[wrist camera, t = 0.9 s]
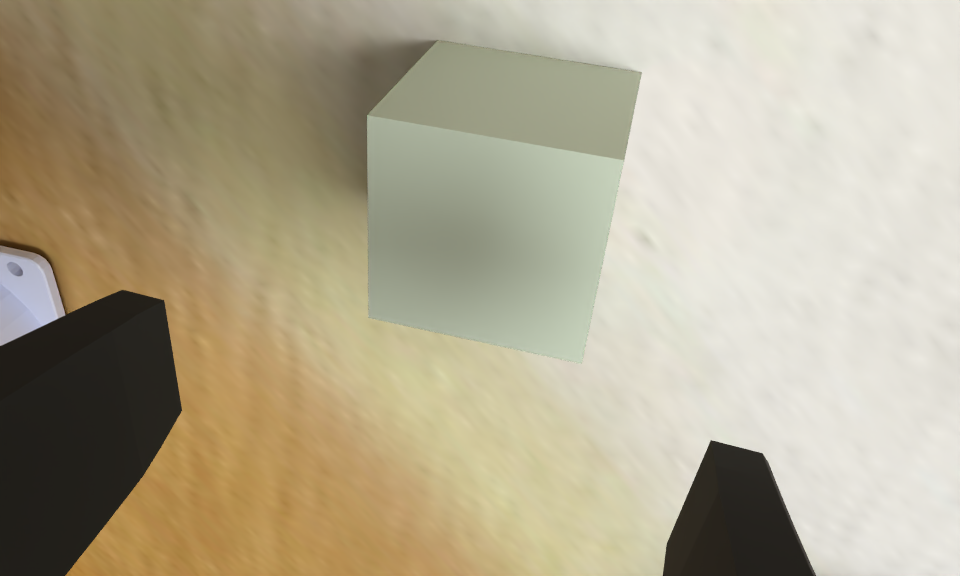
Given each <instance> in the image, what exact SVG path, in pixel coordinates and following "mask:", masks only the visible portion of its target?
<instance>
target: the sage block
mask: <svg viewBox="0 0 960 576" xmlns="http://www.w3.org/2000/svg"><path fill="white" fill-rule="evenodd" d="M641 74H642V72H636V71H629V70H623V69H617V68H610V67H604V66H598V65H591V64H585V63H579V62H572V61H566V60H560V59H553V58H547V57H541V56H534V55H528V54H522V53H515V52H509V51H503V50H496V49H490V48H484V47H477V46H471V45H465V44H458V43H452V42H446V41H439V40H437V41H436V43H435V44H434V45H433V46H432V47H431V48H430V49H429V50H428V51H427V52H426V53H425V54H424V55H423V56H422V57H421V58H420V60H419V61H418V62H417V63H416V64H415V65H414V66H413V67H412V68H411V69H410V70H409V71H408V72H407V73H406V74H405V75H404V76H403V78H402V79H401V80H400V81H399V82H398V83H397V84H396V85H395V86H394V87H393V88H392V89H391V90H390V91H389V92H388V93H387V95H386V96H385V97H384V98H383V99H382V100H381V101H380V102H379V103H378V104H377V105H376V106H375V107H374V108H373V109H372V110H371V111H370V113H369V114H368V115H367V177H368V304H369V318H371V319H376V320H381V321H385V322H390V323H394V324H399V325H404V326H408V327H413V328H418V329H422V330H427V331H431V332H436V333H441V334H445V335H450V336H454V337H459V338H464V339H468V340H473V341H478V342H482V343H487V344H491V345H496V346H501V347H505V348H510V349H514V350H519V351H524V352H528V353H533V354H538V355H542V356H547V357H551V358H556V359H561V360H565V361H570V362H575V363H579V364H582V361H583V356H584V351H585V346H586V341H587V336H588V332H589V327H590V322H591V317H592V312H593V308H594V303H595V298H596V293H597V288H598V283H599V279H600V274H601V269H602V264H603V259H604V255H605V250H606V245H607V240H608V235H609V230H610V226H611V221H612V216H613V211H614V206H615V202H616V197H617V192H618V187H619V182H620V177H621V173H622V168H623V163H624V158H625V153H626V148H627V143H628V138H629V133H630V128H631V123H632V118H633V113H634V108H635V103H636V98H637V94H638V89H639V84H640V79H641Z"/></svg>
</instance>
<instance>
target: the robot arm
mask: <svg viewBox="0 0 960 576" xmlns="http://www.w3.org/2000/svg"><path fill="white" fill-rule="evenodd" d="M181 411H182V408H181V402H180V395H179V389H178V383H177V377H176V371H175V365H174V358H173V352H172V346H171V340H170V334H169V328H168V321H167V315H166V309H165V303H164V300H160V299H157V298H153V297H149V296H145V295H141V294H137V293H133V292H129V291H125V290H121V291H119V292H116V293H114V294H111V295H109V296H107V297H104V298H102V299H100V300H97V301H95V302H93V303H91V304H88V305H86V306H84V307H82V308H80V309H78V310H75V311H73V312H71V313H69V314H67V315H65V312H64V308H63V305H62V302H61V298H60V295H59V291H58V288H57V285H56V281H55V278H54V275H53V271H52V268H51V266H50V264H49V263H48V261H47V260H46V259H45V258H43V257H42V256H40V255H38V254H36V253H32V252H28V251H23V250H19V249H14V248H9V247H5V246H0V576H65V575H66V574H67V573H68V571H69V570H70V569H71V568H72V566H73V565H74V564H75V563H76V561H77V560H78V559H79V557H80V556H81V555H82V554H83V552H84V551H85V550H86V549H87V547H88V546H89V545H90V544H91V542H92V541H93V540H94V539H95V537H96V536H97V535H98V533H99V532H100V531H101V530H102V528H103V527H104V526H105V525H106V523H107V522H108V521H109V519H110V518H111V517H112V516H113V514H114V513H115V512H116V510H117V509H118V508H119V507H120V505H121V504H122V503H123V501H124V500H125V499H126V498H127V496H128V495H129V494H130V492H131V491H132V490H133V488H134V487H135V486H136V485H137V483H138V482H139V481H140V479H141V478H142V477H143V475H144V474H145V472H146V470H147V469H148V467H149V466H150V464H151V462H152V461H153V459H154V458H155V456H156V454H157V453H158V451H159V449H160V448H161V446H162V444H163V443H164V441H165V439H166V437H167V436H168V434H169V432H170V430H171V429H172V427H173V425H174V423H175V422H176V420H177V418H178V416H179V415H180V413H181ZM663 576H816V575H815V572H814V570H813V568H812V566H811V564H810V561H809V559H808V557H807V555H806V552H805V550H804V548H803V545H802V543H801V541H800V539H799V536H798V534H797V532H796V530H795V527H794V525H793V522H792V520H791V518H790V515H789V513H788V511H787V508H786V506H785V503H784V501H783V498H782V496H781V493H780V491H779V489H778V486H777V484H776V481H775V479H774V476H773V473H772V471H771V468H770V466H769V463H768V461H767V460H766V458H765V457H764V455H763V454H762V453H759V452H755V451H751V450H747V449H743V448H739V447H735V446H731V445H727V444H723V443H720V442H716V441H712V440H711V441H710V444H709V446H708V448H707V451H706V453H705V455H704V458H703V460H702V463H701V465H700V467H699V470H698V472H697V474H696V477H695V479H694V481H693V484H692V486H691V488H690V491H689V493H688V495H687V498H686V500H685V502H684V505H683V507H682V509H681V512H680V514H679V516H678V519H677V521H676V524H675V526H674V528H673V531H672V533H671V535H670V538H669V540H668V542H667V547H666V555H665V563H664V571H663Z"/></svg>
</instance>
